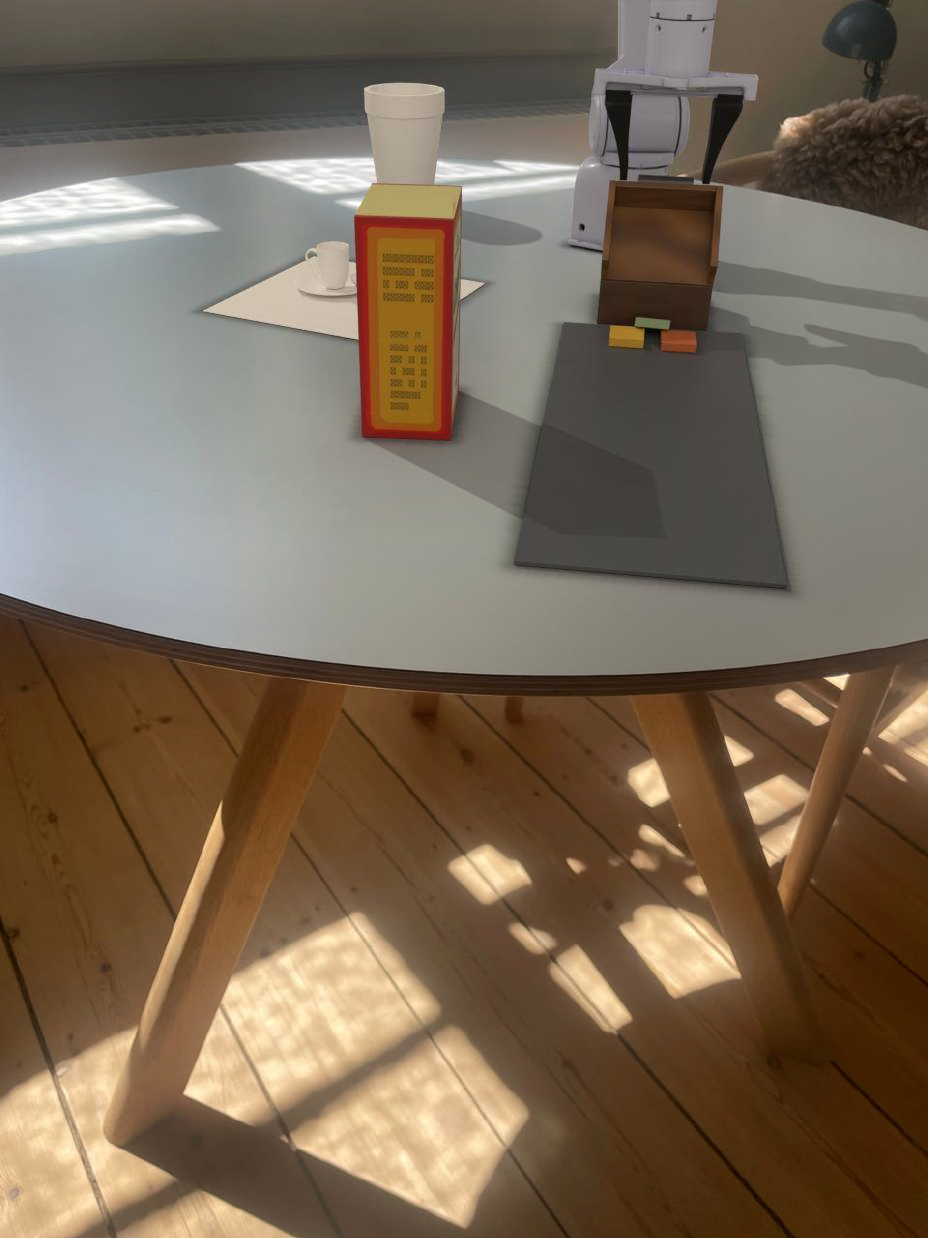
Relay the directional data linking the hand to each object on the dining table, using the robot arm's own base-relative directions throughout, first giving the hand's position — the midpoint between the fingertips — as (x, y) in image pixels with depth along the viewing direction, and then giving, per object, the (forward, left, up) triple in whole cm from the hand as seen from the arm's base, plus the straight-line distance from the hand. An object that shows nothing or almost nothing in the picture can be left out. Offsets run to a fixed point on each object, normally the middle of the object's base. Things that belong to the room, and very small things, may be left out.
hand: (664, 179), depth 106 cm
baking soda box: (-2, -39, -11) cm, 40 cm away
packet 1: (+5, -16, -9) cm, 19 cm away
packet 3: (+6, -13, -10) cm, 17 cm away
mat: (+14, -31, -10) cm, 35 cm away
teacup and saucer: (-23, -19, -11) cm, 32 cm away
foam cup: (-39, +13, -11) cm, 43 cm away
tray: (+3, -7, -3) cm, 8 cm away
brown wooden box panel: (+3, -7, -10) cm, 13 cm away
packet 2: (+9, -14, -9) cm, 19 cm away
